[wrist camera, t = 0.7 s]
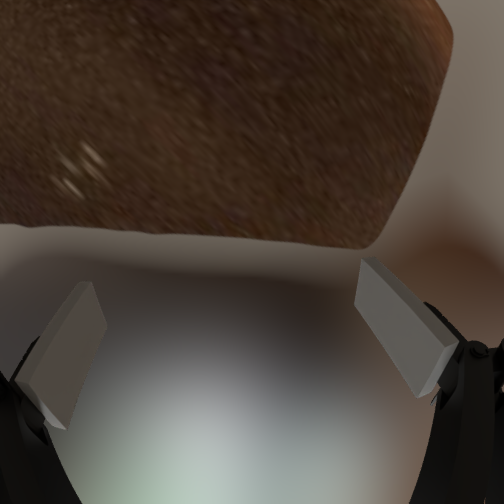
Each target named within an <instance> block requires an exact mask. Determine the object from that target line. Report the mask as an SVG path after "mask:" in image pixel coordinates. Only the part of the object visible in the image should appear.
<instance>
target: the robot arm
mask: <svg viewBox="0 0 504 504" xmlns="http://www.w3.org/2000/svg"><path fill="white" fill-rule="evenodd" d="M354 305H355V307H356V308H357V309H358V311H359V312H360V314H361V315H362V317H363V318H364V319H365V321H366V322H367V324H368V325H369V327H370V328H371V329H372V331H373V333H374V334H375V335H376V337H377V338H378V340H379V341H380V343H381V344H382V346H383V347H384V349H385V350H386V352H387V353H388V355H389V356H390V358H391V359H392V361H393V362H394V364H395V365H396V367H397V369H398V370H399V372H400V373H401V375H402V376H403V378H404V379H405V381H406V383H407V384H408V385H409V387H410V389H411V390H412V392H413V394H414V395H415V397H416V398H419V397H422V396H424V395H426V394H428V393H431V391H432V390H433V388H434V386H435V385H436V383H438V384H439V386H440V387H441V388H440V389H439V391H438V393H437V394H436V396H435V397H434V398H433V400H432V402H431V404H430V405H433V404H434V403H435V401H436V400H437V402H436V407H435V413H434V419H433V424H432V428H431V433H430V438H429V442H428V446H427V450H426V454H425V457H424V461H423V464H422V468H421V471H420V474H419V477H418V480H417V483H416V486H415V489H414V491H413V494H412V497H411V499H410V502H409V504H484V500H485V504H504V392H503V391H502V386H503V385H504V339H502V341H501V343H500V345H499V347H497V348H489V349H488V347H487V346H486V345H485V344H483V343H481V342H479V341H469V342H468V341H467V340H466V339H465V338H464V337H463V336H462V335H461V333H459V331H458V330H457V329H456V328H455V327H454V326H453V325H452V324H451V323H450V322H448V320H447V319H446V318H445V317H444V316H442V314H441V313H440V312H439V311H438V310H437V309H436V308H435V307H434V306H432V305H430V304H428V303H427V302H422V301H421V300H420V299H419V298H418V297H417V296H416V295H415V294H414V293H413V292H412V291H411V290H410V289H409V288H408V287H407V286H405V285H404V284H403V283H402V282H401V281H400V280H399V279H398V278H397V277H396V276H395V275H394V274H393V273H392V272H391V271H390V270H388V268H386V267H385V266H384V265H383V264H382V263H381V262H380V261H379V260H378V259H376V258H375V257H368V258H362V260H361V267H360V273H359V280H358V286H357V292H356V297H355V303H354ZM107 327H108V326H107V323H106V321H105V318H104V315H103V313H102V310H101V308H100V305H99V302H98V299H97V296H96V294H95V291H94V288H93V285H92V282H91V281H86V282H79V283H78V284H77V285H76V287H75V288H74V289H73V290H72V292H71V293H70V294H69V296H68V297H67V299H66V300H65V301H64V303H63V304H62V305H61V307H60V308H59V310H58V311H57V313H56V314H55V316H54V317H53V318H52V320H51V321H50V323H49V324H48V326H47V327H46V329H45V330H44V332H43V333H42V335H41V336H39V337H38V338H37V339H36V340H35V341H34V342H32V343H31V345H30V347H29V348H28V350H27V353H25V355H24V356H23V360H21V361H20V363H19V365H18V367H17V368H16V370H15V372H14V374H13V375H12V377H11V379H10V381H9V382H8V381H7V380H6V378H5V377H4V376H3V374H2V373H1V371H0V504H82V503H81V501H80V499H79V497H78V496H77V494H76V492H75V490H74V488H73V487H72V485H71V483H70V481H69V479H68V477H67V475H66V473H65V471H64V469H63V466H62V464H61V462H60V460H59V457H58V455H57V453H56V450H55V448H54V445H53V443H52V440H51V438H50V435H49V433H48V430H47V428H46V426H45V425H44V424H43V423H44V420H45V418H46V419H47V420H48V422H49V423H50V424H51V425H52V426H53V427H57V428H61V429H65V430H68V426H69V424H70V420H71V417H72V414H73V411H74V409H75V406H76V403H77V400H78V397H79V394H80V392H81V389H82V386H83V384H84V381H85V379H86V376H87V373H88V371H89V368H90V366H91V363H92V361H93V359H94V356H95V354H96V351H97V349H98V347H99V345H100V342H101V340H102V338H103V335H104V333H105V331H106V329H107Z"/></svg>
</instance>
